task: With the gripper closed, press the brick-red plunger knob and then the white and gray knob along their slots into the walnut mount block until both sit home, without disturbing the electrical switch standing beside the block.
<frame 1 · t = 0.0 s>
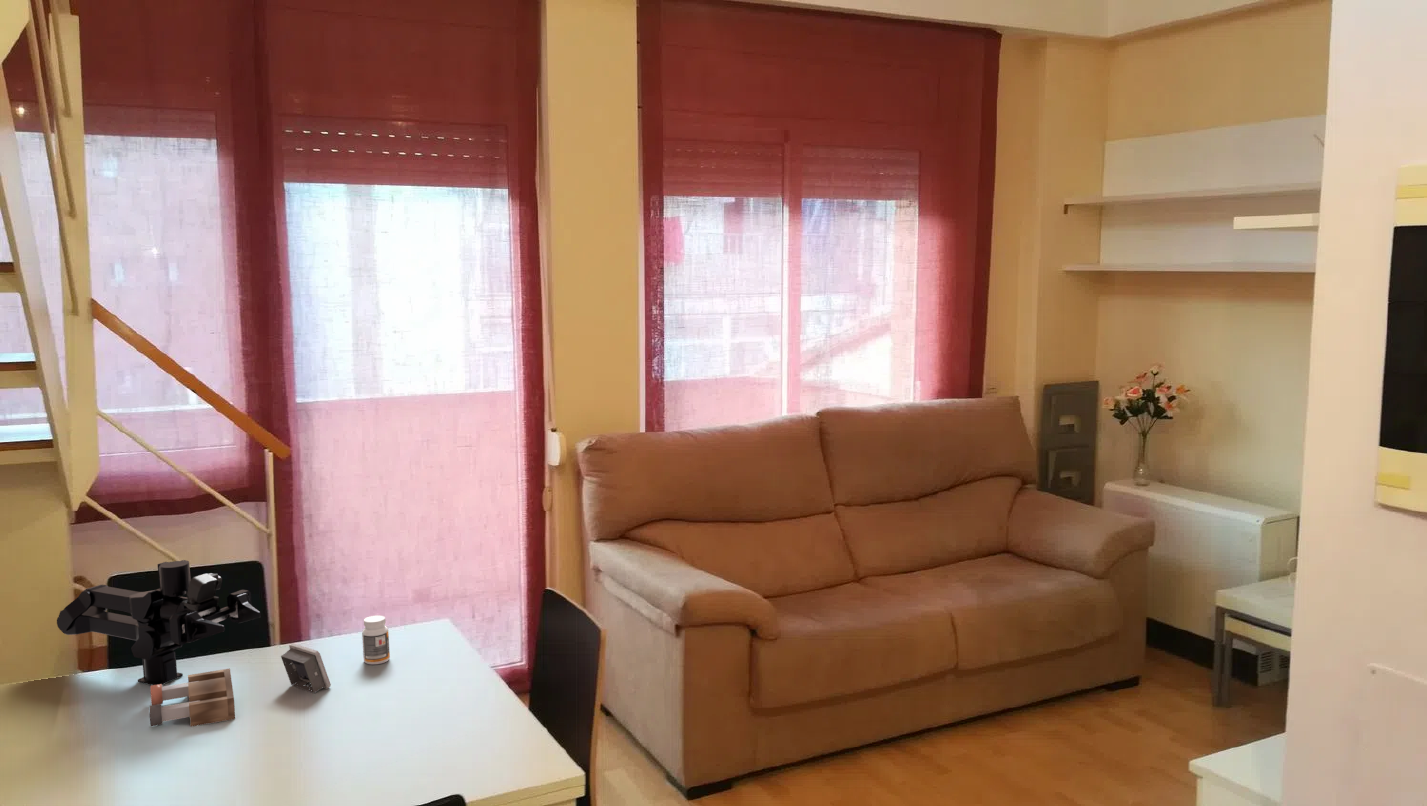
hand: (242, 621, 219), 17 cm above the table, tool horizontal, fingers open, 9 cm apart
mount: (211, 706, 217), on the table
white and gray knob: (175, 711, 209), point 2 cm above the table, slide at 4.5 cm
electrical switch: (307, 689, 226), on the table
red knob: (175, 691, 219), point 2 cm above the table, slide at 4.5 cm
pill bottle: (376, 661, 241), on the table
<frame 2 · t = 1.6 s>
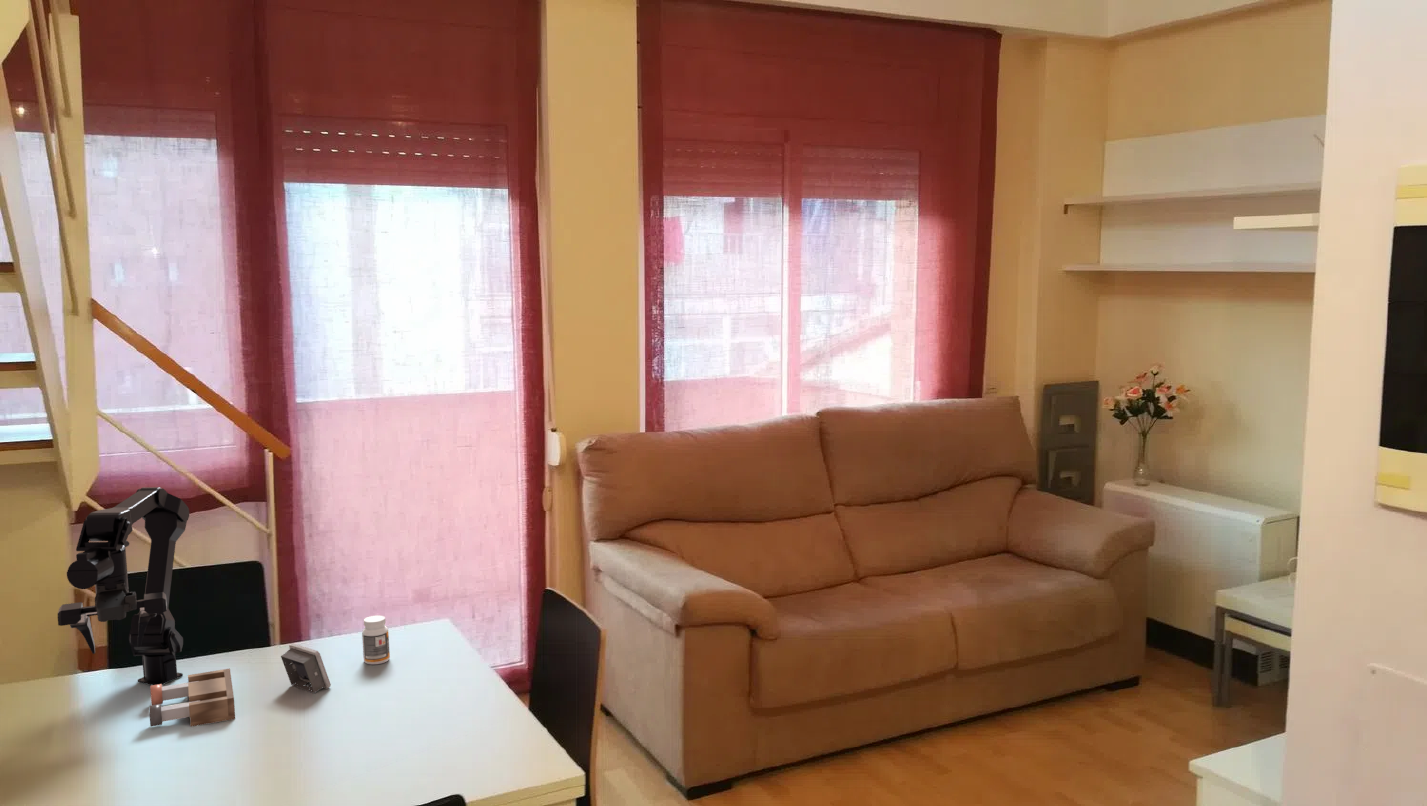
hand: (116, 649, 213), 13 cm above the table, tool pointing down, fingers open, 8 cm apart
nothing on the table moved.
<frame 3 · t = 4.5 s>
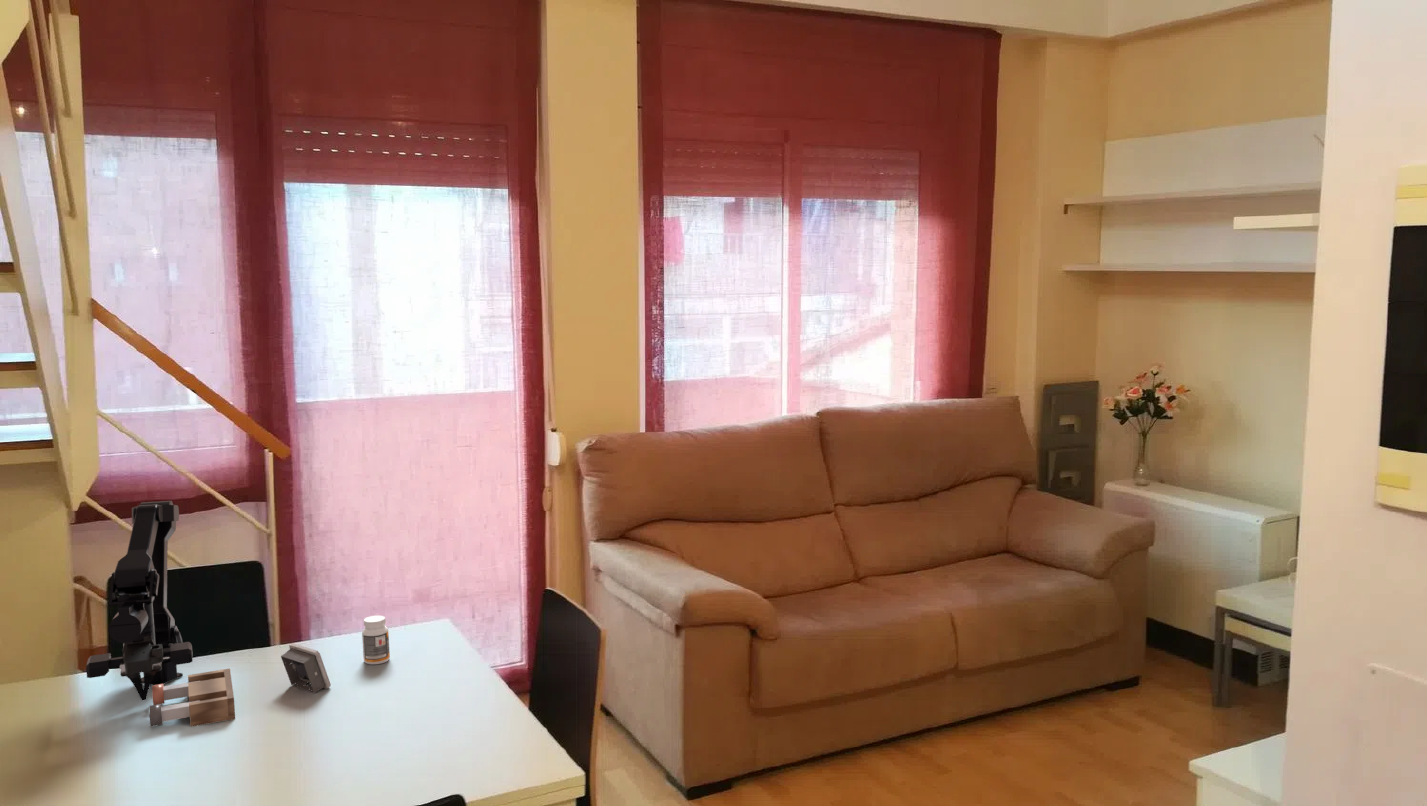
hand: (143, 699, 216), 2 cm above the table, tool pointing down, fingers closed
red knob: (176, 691, 219), point 2 cm above the table, slide at 4.2 cm, touching gripper
everything else where it was.
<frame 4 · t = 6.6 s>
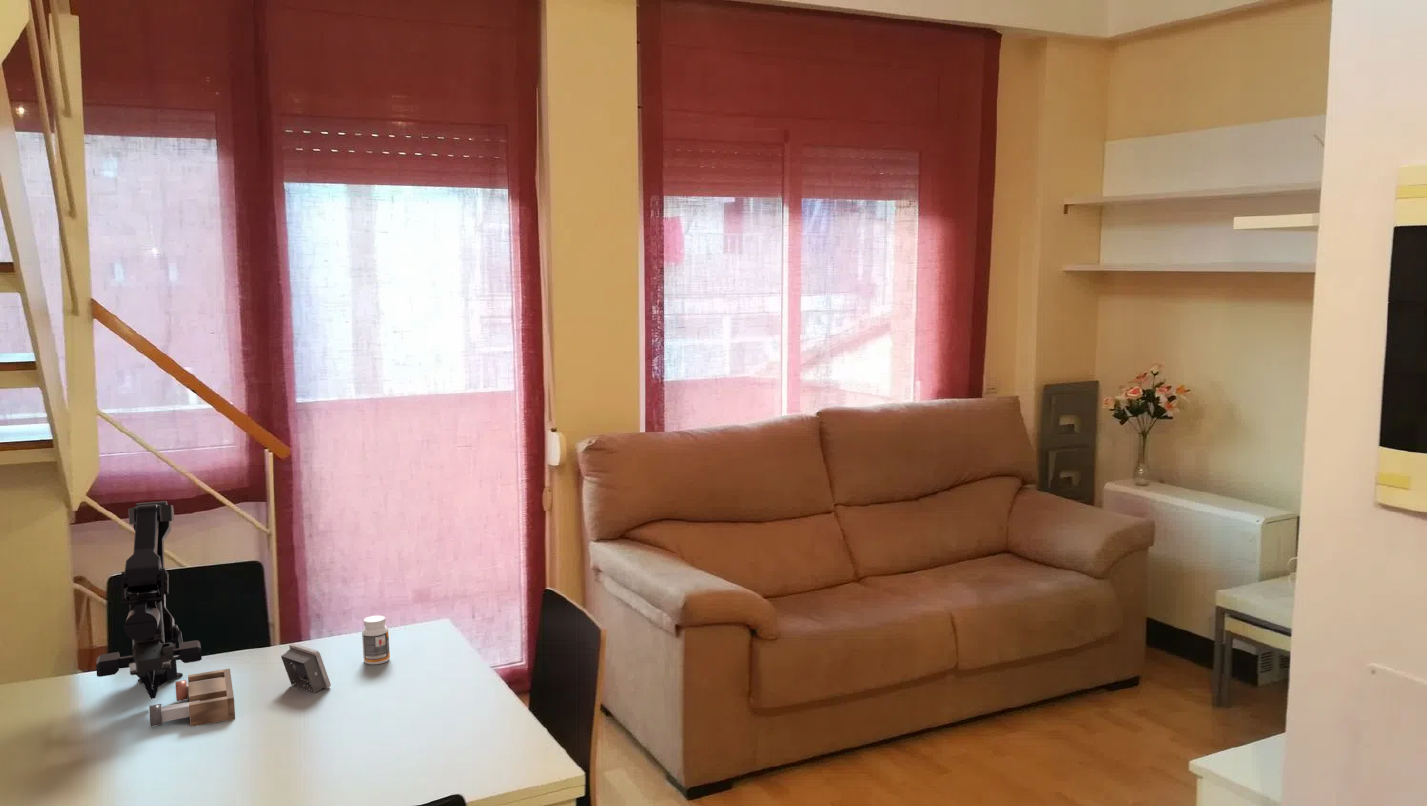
hand: (153, 698, 217), 2 cm above the table, tool pointing down, fingers closed
red knob: (199, 687, 221), point 2 cm above the table, slide at 0.0 cm
everything else where it was.
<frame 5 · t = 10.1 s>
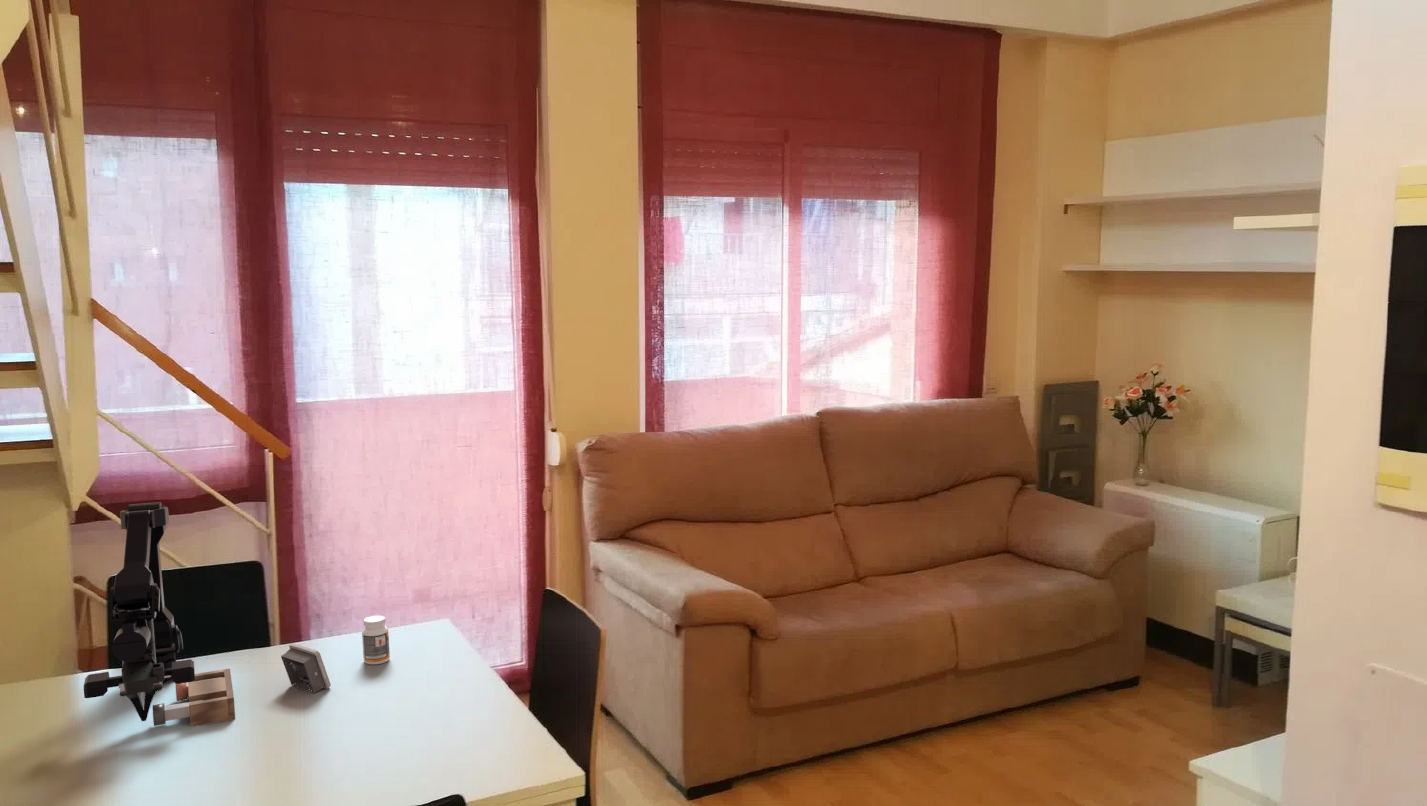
hand: (144, 720, 206), 2 cm above the table, tool pointing down, fingers closed
white and gray knob: (178, 711, 209), point 2 cm above the table, slide at 3.9 cm, touching gripper
everything else where it was.
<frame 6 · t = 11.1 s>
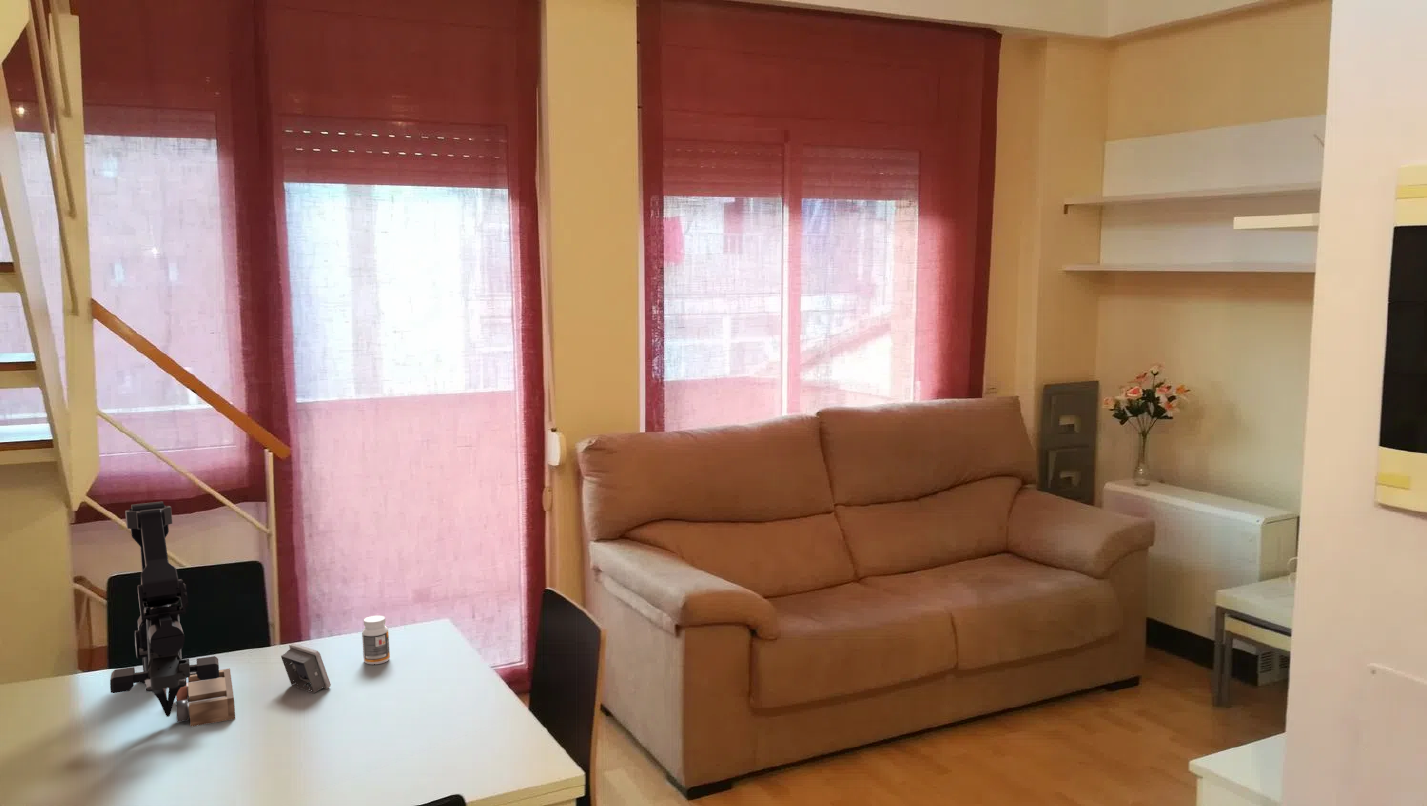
hand: (168, 716, 208), 2 cm above the table, tool pointing down, fingers closed
white and gray knob: (201, 707, 211), point 2 cm above the table, slide at -0.1 cm, touching gripper
everything else where it was.
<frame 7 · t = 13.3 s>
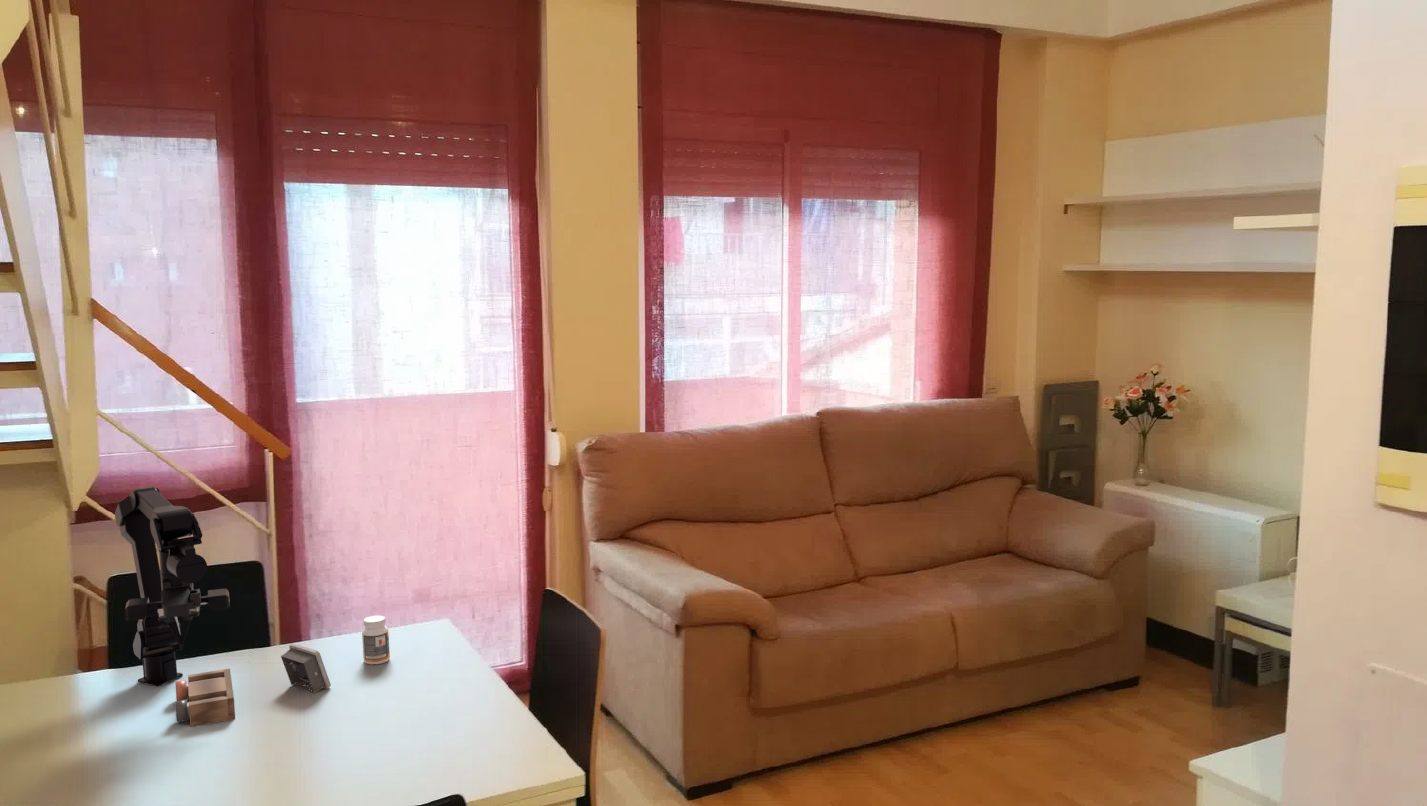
hand: (181, 644, 217), 13 cm above the table, tool pointing down, fingers closed
white and gray knob: (200, 707, 211), point 2 cm above the table, slide at 0.0 cm
everything else where it was.
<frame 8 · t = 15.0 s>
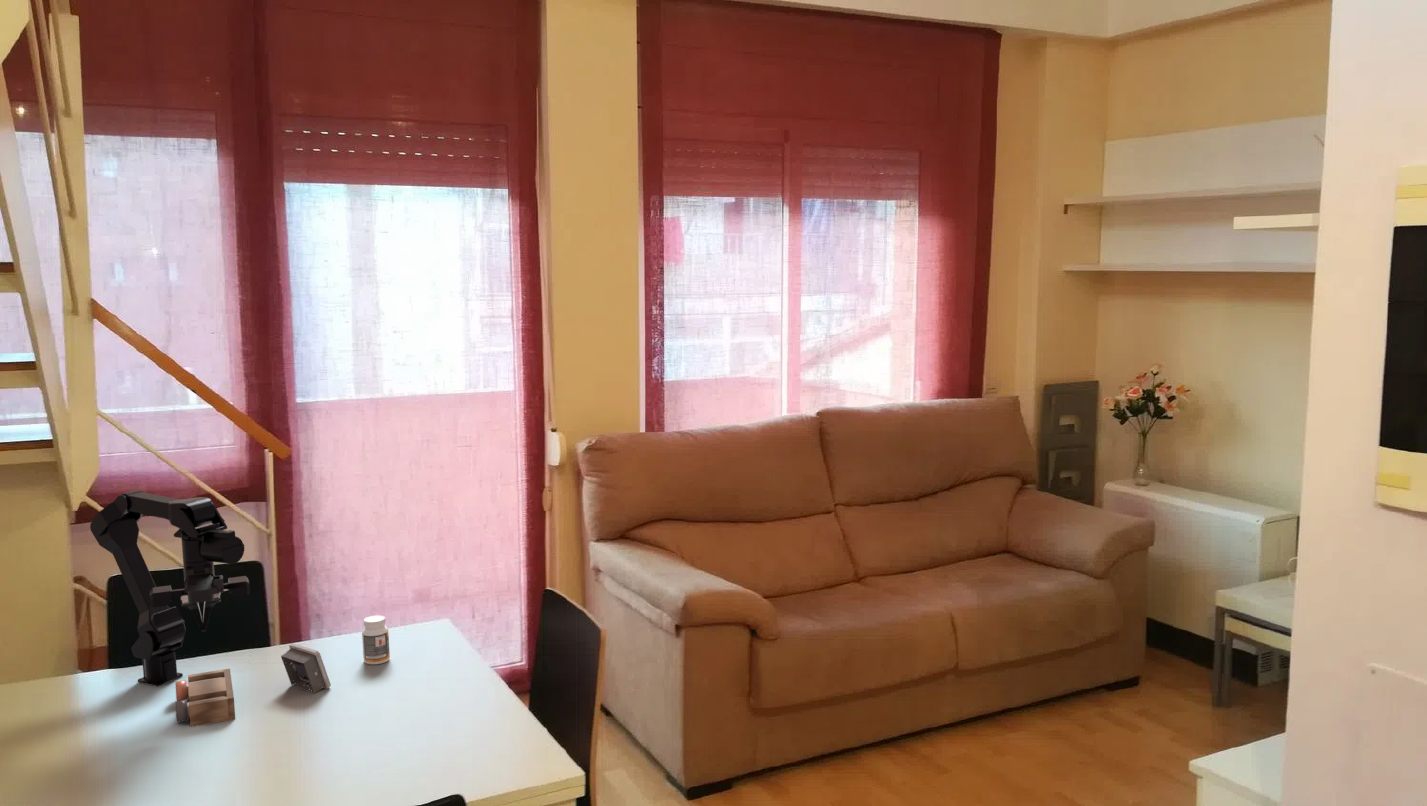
hand: (203, 630, 224), 13 cm above the table, tool pointing down, fingers closed
nothing on the table moved.
at the end: red knob slide at 0.0 cm; white and gray knob slide at 0.0 cm; electrical switch moved 0.3 cm from its start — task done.
